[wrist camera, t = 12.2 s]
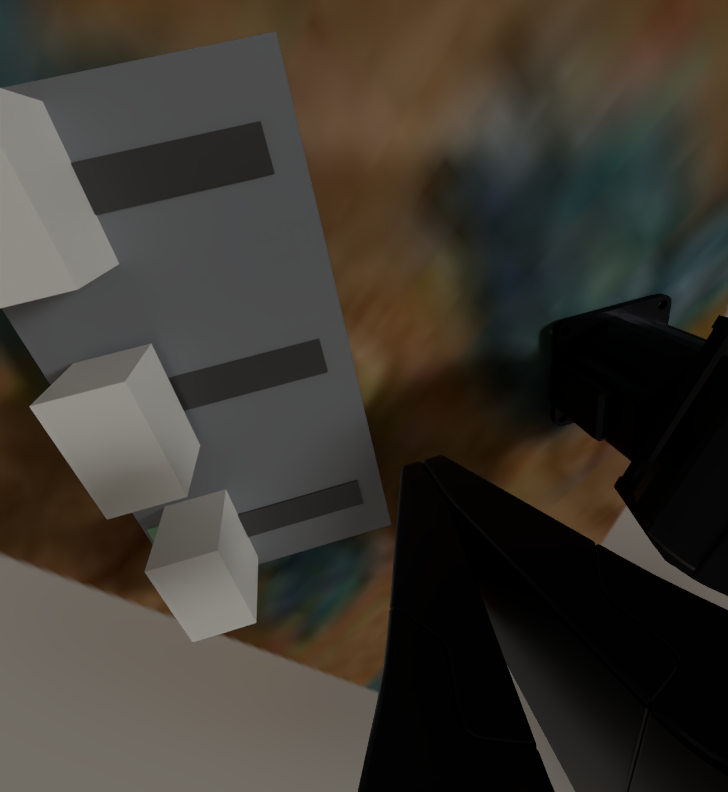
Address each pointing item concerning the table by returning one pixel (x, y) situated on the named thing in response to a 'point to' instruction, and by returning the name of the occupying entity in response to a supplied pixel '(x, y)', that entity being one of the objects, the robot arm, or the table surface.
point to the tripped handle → (121, 430)
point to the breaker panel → (195, 300)
